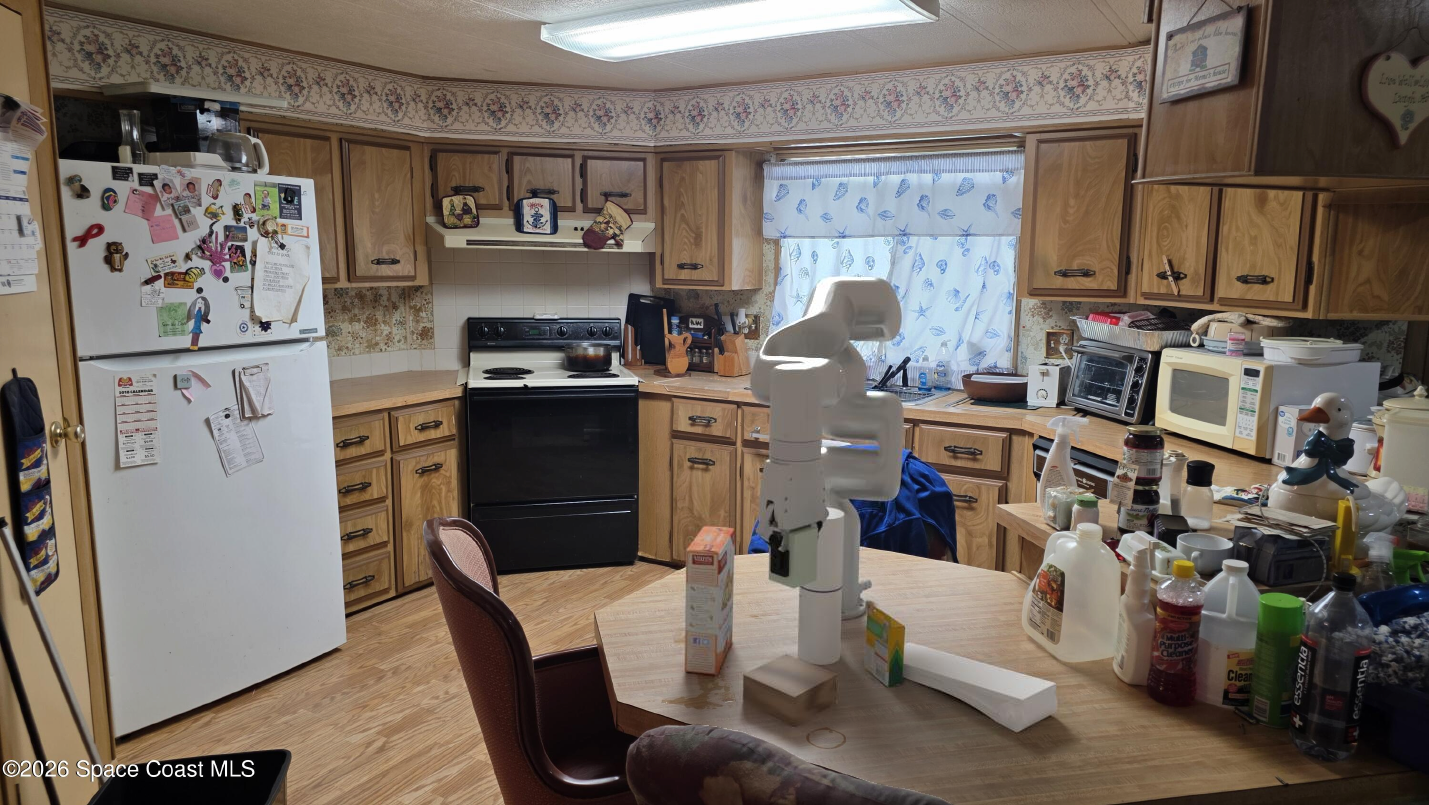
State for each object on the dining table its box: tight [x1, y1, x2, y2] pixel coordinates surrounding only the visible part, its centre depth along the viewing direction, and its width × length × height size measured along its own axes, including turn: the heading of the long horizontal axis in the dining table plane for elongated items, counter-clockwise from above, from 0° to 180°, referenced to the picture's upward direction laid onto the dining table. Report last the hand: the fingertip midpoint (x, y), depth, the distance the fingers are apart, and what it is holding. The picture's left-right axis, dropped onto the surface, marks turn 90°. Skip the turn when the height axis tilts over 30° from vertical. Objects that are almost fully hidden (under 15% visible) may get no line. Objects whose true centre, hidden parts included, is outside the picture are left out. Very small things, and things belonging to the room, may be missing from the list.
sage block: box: [768, 526, 818, 590], centre depth 132 cm, size 5×5×8 cm
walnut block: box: [742, 653, 838, 728], centre depth 135 cm, size 10×10×5 cm
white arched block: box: [903, 642, 1059, 733], centre depth 140 cm, size 10×7×28 cm
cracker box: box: [684, 525, 736, 676], centre depth 150 cm, size 14×6×21 cm, turn 168°
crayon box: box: [863, 601, 906, 688], centre depth 144 cm, size 7×3×12 cm, turn 21°
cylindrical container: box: [797, 507, 844, 666], centre depth 150 cm, size 7×7×25 cm
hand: (792, 569), depth 132 cm, fingers closed on sage block, 4 cm apart
